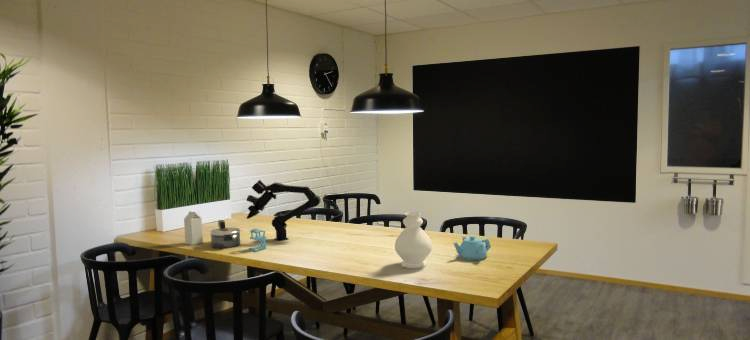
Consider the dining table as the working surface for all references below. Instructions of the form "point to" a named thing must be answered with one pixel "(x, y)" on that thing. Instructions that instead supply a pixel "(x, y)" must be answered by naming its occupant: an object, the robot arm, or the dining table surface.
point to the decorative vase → (413, 242)
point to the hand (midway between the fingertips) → (247, 218)
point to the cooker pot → (225, 241)
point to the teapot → (472, 248)
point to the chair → (259, 238)
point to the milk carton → (193, 229)
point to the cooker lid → (224, 230)
